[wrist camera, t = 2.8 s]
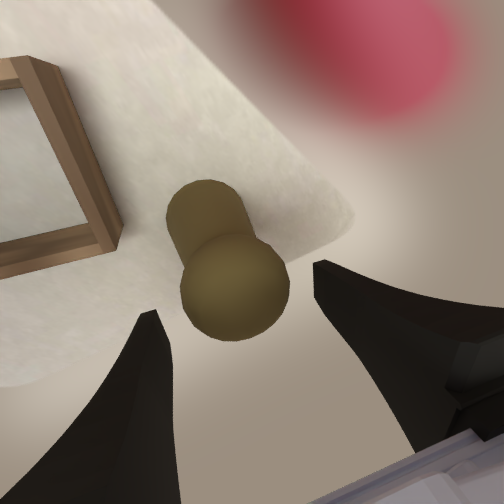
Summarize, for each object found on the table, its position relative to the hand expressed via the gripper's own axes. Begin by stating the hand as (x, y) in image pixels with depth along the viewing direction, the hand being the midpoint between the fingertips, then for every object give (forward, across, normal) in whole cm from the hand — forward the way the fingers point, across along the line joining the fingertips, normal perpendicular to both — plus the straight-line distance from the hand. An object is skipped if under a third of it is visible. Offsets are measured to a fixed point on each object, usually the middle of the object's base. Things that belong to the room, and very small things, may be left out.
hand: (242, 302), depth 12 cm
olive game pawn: (+11, 0, 0) cm, 11 cm away
